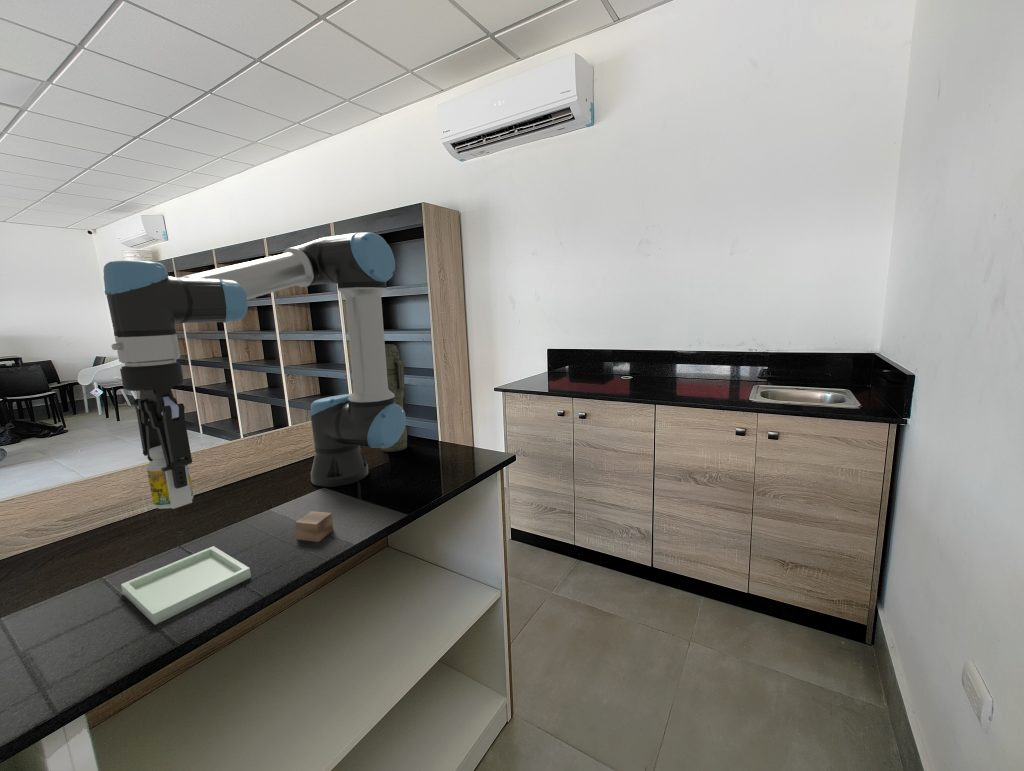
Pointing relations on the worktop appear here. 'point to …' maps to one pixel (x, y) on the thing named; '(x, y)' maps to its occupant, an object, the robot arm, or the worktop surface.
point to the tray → (184, 583)
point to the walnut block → (314, 526)
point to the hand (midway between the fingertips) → (174, 500)
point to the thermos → (395, 388)
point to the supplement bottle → (160, 479)
